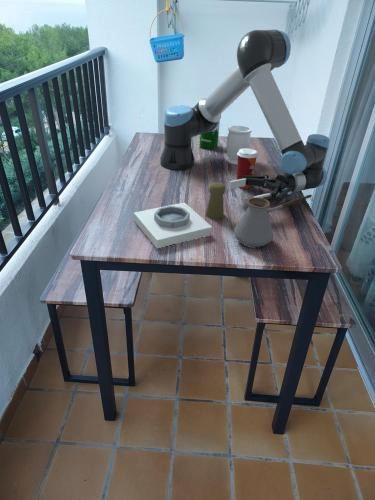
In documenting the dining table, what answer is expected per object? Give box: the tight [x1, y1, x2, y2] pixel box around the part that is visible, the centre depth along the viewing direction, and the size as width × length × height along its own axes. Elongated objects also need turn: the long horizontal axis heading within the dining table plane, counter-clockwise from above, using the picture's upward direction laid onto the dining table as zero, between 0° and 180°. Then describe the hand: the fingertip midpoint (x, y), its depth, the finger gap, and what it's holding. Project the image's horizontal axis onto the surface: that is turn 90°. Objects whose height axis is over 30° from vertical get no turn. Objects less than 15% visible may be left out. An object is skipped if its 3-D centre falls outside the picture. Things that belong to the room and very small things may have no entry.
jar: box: [226, 125, 253, 166], centre depth 160 cm, size 11×10×15 cm
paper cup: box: [236, 147, 258, 190], centre depth 138 cm, size 8×8×14 cm
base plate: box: [133, 202, 213, 250], centre depth 111 cm, size 18×18×5 cm
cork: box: [205, 182, 226, 220], centre depth 118 cm, size 6×6×11 cm
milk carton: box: [199, 119, 221, 151], centre depth 175 cm, size 9×9×20 cm
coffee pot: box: [233, 194, 314, 248], centre depth 104 cm, size 21×12×15 cm, turn 96°
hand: (241, 192), depth 121 cm, fingers open, 13 cm apart
